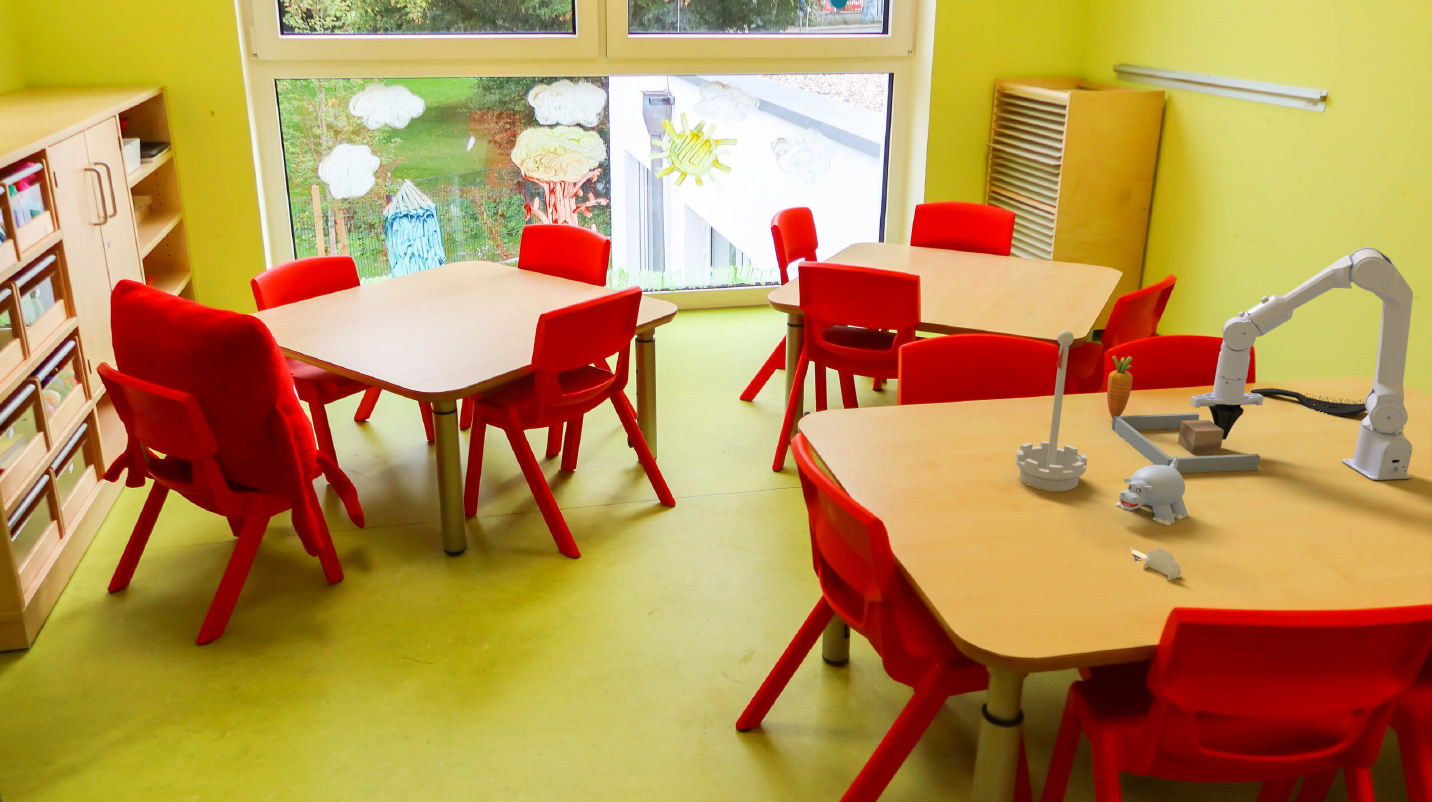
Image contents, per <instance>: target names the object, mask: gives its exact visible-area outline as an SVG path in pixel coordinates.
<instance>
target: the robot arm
mask: <svg viewBox="0 0 1432 802" xmlns="http://www.w3.org/2000/svg"><path fill="white" fill-rule="evenodd" d="M1351 283H1354V285H1355V286H1357V287H1359V288H1360V289H1363V290H1365V291H1367V292H1370V293H1373V294H1374V295H1375V296H1376V297H1378V298H1379V299H1380V300H1381V301H1382V306H1381V314H1380V315H1381V316H1380V325H1379V334H1378V335H1379V336H1378V341H1377V342H1378V344H1377V354H1376V360H1375V361H1376V362H1375V364H1376V365H1375V372H1374V379H1373V380H1372V384H1371V390H1370V392H1369V393H1368V395H1366V397H1365V399H1364V403H1365V408H1366V410H1367V411H1366V412H1367V415H1366V416H1365V417H1364V418H1363V419H1362V420H1361V422H1360V427H1359V432H1358V437H1357V441H1356V445H1355V449H1354V454H1353V458H1343V459H1342V461H1341V462H1342V463H1344V464H1346V465H1347V466H1349V467H1351V468H1352V469H1353V470H1355V471H1357V472H1358V473H1360V474H1362V475H1363V476H1365V477H1367V478H1368V479H1369V480H1372V481H1380V480H1381V481H1383V480H1384V481H1385V480H1403V479H1406V480H1407V479H1410V478H1411V475H1409V474H1407V473H1408V469H1409V465H1410V463H1411V457H1412V452H1413V445H1412V443H1411V442H1410V441H1409V439H1408V438H1406V436H1405V434H1404V429H1405V427H1404V426H1405V425H1406V423H1407V421H1408V417H1409V414H1408V411H1407V410H1406V408H1405V403H1404V402H1405V401H1404V400H1405V391H1404V380H1405V379H1404V377H1405V369H1406V362H1407V361H1406V359H1407V352H1408V344H1409V336H1410V335H1409V334H1410V327H1411V317H1412V309H1413V308H1412V307H1413V299H1414V298H1413V297H1414V294H1413V293H1414V292H1413V289H1412V288H1411V286H1410V285H1409V283H1408V282H1407V281H1406V279H1405V278H1404V277H1403V274H1401V272H1400V271H1399V269H1398V268H1397V266H1396V265H1395V264H1394V263H1393V261H1392V259H1391V258H1390V257H1389V256H1387V255H1385V254H1384V253H1383V252H1381V251H1380V250H1379V249H1376V248H1374V247H1366V246H1365V247H1362V248H1359V249H1356V250H1354V251H1353V252H1352V253H1351V254H1350V255H1348V254H1347V255H1345V256H1343V257H1340V258H1339V259H1337V260H1336V261H1335V262H1333V263H1332V264H1330V265H1329V266H1326V268H1324V269H1322V270H1320V271H1319V272H1318V273H1316V274H1315V275H1313V276H1312V277H1310V278H1309V279H1307V280H1306V281H1304V282H1303V283H1301V284H1300V285H1299V286H1297V287H1295V288H1293V289H1292V290H1291V291H1289V292H1287V293H1286V294H1283V295H1282V294H1280V295H1279V294H1272V295H1270V296H1269V297H1268V295H1264V296H1263V297H1260V302H1259V303H1257V304H1256V305H1254V306H1252V307H1251V308H1250V309H1247V310H1246V311H1244V310H1242V311H1240V312H1238V316H1237V315H1236V316H1233V317H1230V318H1229V319H1228V320H1226V322H1225V323H1224V325H1223V326H1222V329H1221V330H1222V339H1223V340H1222V343H1221V345H1220V351H1219V355H1218V358H1217V359H1218V361H1217V366H1216V372H1215V379H1214V384H1213V390H1212V392H1208V393H1204V394H1203V393H1202V394H1200V395H1199V394H1198V395H1192V396H1191V400H1190V405H1191V407H1194V408H1195V409H1197V408H1199V409H1200V408H1201V407H1208V408H1209V409H1208V410H1209V411H1210V414H1211V417H1212V420H1213V421H1212V422H1213V423H1214V424H1216V425H1217V426H1218V427H1220V428H1221V429H1223V430H1224V433H1223V438H1222V441H1224V440H1225V441H1226V440H1227V438H1228V436H1229V434H1230V431H1231V429H1232V428H1233V426H1234V424H1235V423H1236V422H1237V421H1238V419H1240V417H1241V416H1242V415H1243V413H1244V408H1243V407H1241V406H1247V405H1249V406H1250V405H1252V406H1253V405H1256V406H1263V402H1264V398H1265V397H1264V395H1260V394H1255V393H1251V392H1249V393H1246V392H1245V389H1246V383H1247V378H1248V371H1249V366H1250V360H1251V355H1250V353H1251V349H1252V348H1251V347H1252V346H1253V345H1254V344H1255V342H1256V339H1257V338H1258V337H1259V338H1260V337H1263V336H1265V335H1266V334H1268V333H1269V332H1271V331H1272V330H1274V329H1276V328H1277V327H1279V326H1281V325H1283V324H1284V323H1286V322H1288V321H1289V320H1291V319H1292V318H1293V313H1294V311H1295V309H1298V308H1299V307H1301V306H1303V305H1305V304H1307V303H1308V302H1310V301H1312V300H1314V299H1316V298H1317V297H1319V296H1321V295H1323V294H1325V293H1326V292H1328V291H1330V290H1332V289H1352V288H1353V286H1352V284H1351Z"/></svg>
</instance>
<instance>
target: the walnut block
mask: <svg viewBox="0 0 1432 802" xmlns="http://www.w3.org/2000/svg"><path fill="white" fill-rule="evenodd" d="M1223 433H1224V430H1223V429H1221V428H1220V427H1218V426H1217V425H1216V424H1214V421H1211V420H1210V419H1200V420H1189V421H1181V426H1180V428H1179V434H1178V441H1177V444H1179V445H1180V446H1181V447H1182V448H1183V449H1185V450H1186V451H1187V452H1189V453H1190V454H1192V455H1200V454H1201V455H1202V454H1203V455H1204V454H1206V455H1207V454H1220V453H1221V449H1222V443H1223V440H1222V438H1223Z"/></svg>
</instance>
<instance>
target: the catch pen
mask: <svg viewBox="0 0 1432 802" xmlns="http://www.w3.org/2000/svg"><path fill="white" fill-rule="evenodd" d="M1199 419H1200V414H1199V413H1197V412H1187V413H1164V414H1161V413H1160V414H1138V415H1137V414H1135V415H1120V416H1114V417H1113V419H1112V425H1111V430H1112V429H1113V430H1114V431H1113V430H1112V431H1113V432H1115V431H1116V432H1117V433H1118V434H1119V435H1118V434H1117V433H1116V432H1115V433H1116V434H1117V435H1118V436H1120V438H1122V437H1123V438H1124V439H1125V440H1124V439H1123V438H1122V439H1123V440H1124V441H1126V442H1127V443H1128V442H1129V443H1130V444H1129V443H1128V444H1129V445H1131V446H1132V447H1133V448H1134V447H1135V448H1136V451H1138V452H1139V451H1140V452H1141V453H1140V452H1139V453H1140V454H1142V455H1143V456H1144V457H1145V458H1147V459H1148V460H1149V461H1150V462H1152V463H1153V465H1166V466H1170V465H1171V463H1172V461H1173V460H1174V459H1175V456H1173V457H1171V456H1170V455H1168V454H1167V453H1166V452H1165V451H1163V450H1162V449H1161V448H1160V447H1158V446H1157V445H1156V444H1154V443H1153V442H1152V441H1150V440H1149V439H1148V438H1147V437H1146V436H1144V435H1143V434H1142V433H1140V431H1143V430H1145V429H1149V430H1169V429H1172V430H1173V429H1180V426H1181V421H1189V420H1199ZM1138 429H1139V430H1138ZM1145 431H1146V430H1145ZM1135 448H1134V449H1135ZM1177 457H1178V466H1177V469H1176V470H1177V471H1178V472H1179V473H1180V474H1189V473H1190V474H1191V473H1192V474H1193V473H1195V474H1196V473H1213V472H1214V473H1217V472H1237V471H1238V472H1239V471H1241V472H1242V471H1257V470H1259V469H1258V468H1259V465H1260V460H1261V455H1260V454H1258V453H1252V454H1251V453H1246V454H1242V453H1241V454H1227V455H1223V454H1221V455H1201V456H1200V455H1199V456H1198V455H1197V456H1196V455H1195V456H1177Z"/></svg>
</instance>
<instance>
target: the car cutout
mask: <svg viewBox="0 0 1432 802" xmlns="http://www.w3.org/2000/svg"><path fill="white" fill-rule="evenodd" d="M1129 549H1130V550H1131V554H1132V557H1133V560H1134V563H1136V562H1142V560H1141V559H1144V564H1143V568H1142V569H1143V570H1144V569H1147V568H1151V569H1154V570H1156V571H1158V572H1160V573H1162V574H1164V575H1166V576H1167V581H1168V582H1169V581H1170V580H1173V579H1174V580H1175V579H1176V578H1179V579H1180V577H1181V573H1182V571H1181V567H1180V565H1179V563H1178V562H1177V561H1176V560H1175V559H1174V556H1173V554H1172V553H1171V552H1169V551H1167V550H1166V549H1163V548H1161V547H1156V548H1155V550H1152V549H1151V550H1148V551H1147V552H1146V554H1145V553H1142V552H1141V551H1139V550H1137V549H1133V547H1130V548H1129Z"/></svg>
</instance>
